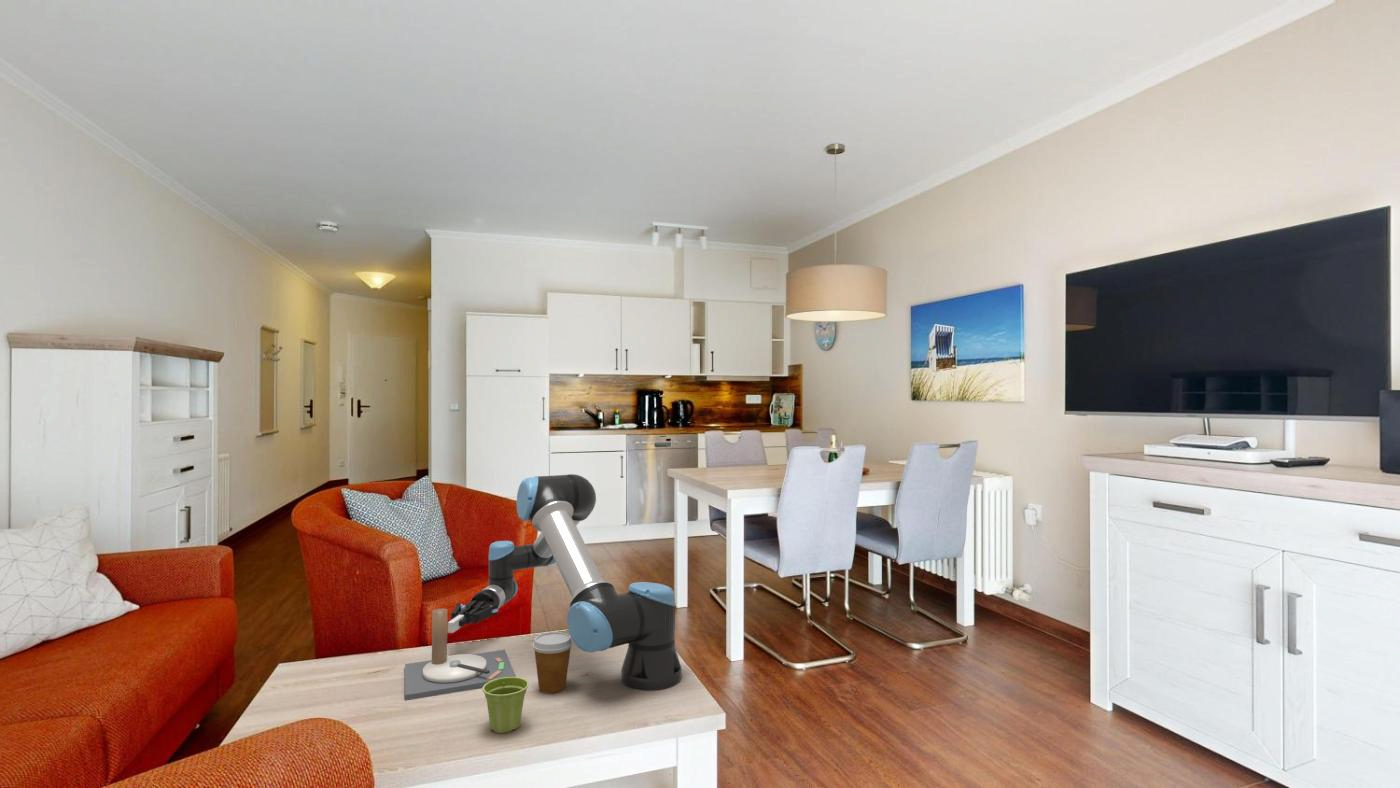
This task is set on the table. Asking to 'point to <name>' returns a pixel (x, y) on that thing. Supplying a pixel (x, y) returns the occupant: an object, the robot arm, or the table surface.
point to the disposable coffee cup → (552, 660)
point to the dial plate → (423, 688)
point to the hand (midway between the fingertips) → (450, 627)
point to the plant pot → (505, 702)
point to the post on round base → (449, 666)
